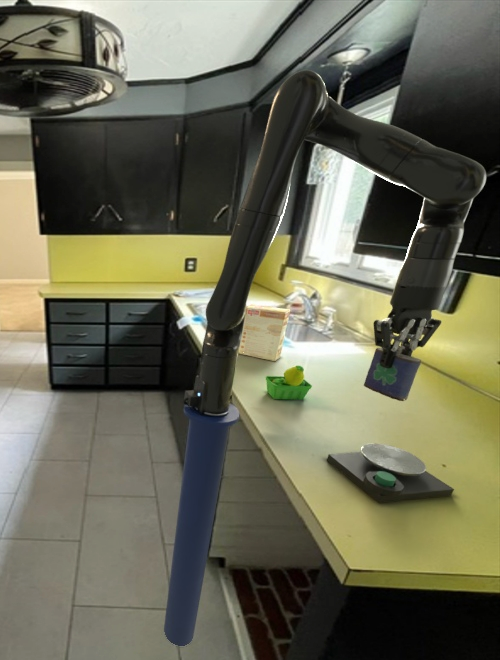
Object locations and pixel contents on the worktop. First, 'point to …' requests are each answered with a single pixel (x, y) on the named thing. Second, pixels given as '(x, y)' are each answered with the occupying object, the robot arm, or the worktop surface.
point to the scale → (401, 490)
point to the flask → (392, 375)
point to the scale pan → (393, 459)
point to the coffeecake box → (264, 332)
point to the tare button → (385, 479)
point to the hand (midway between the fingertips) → (392, 366)
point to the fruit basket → (288, 384)
